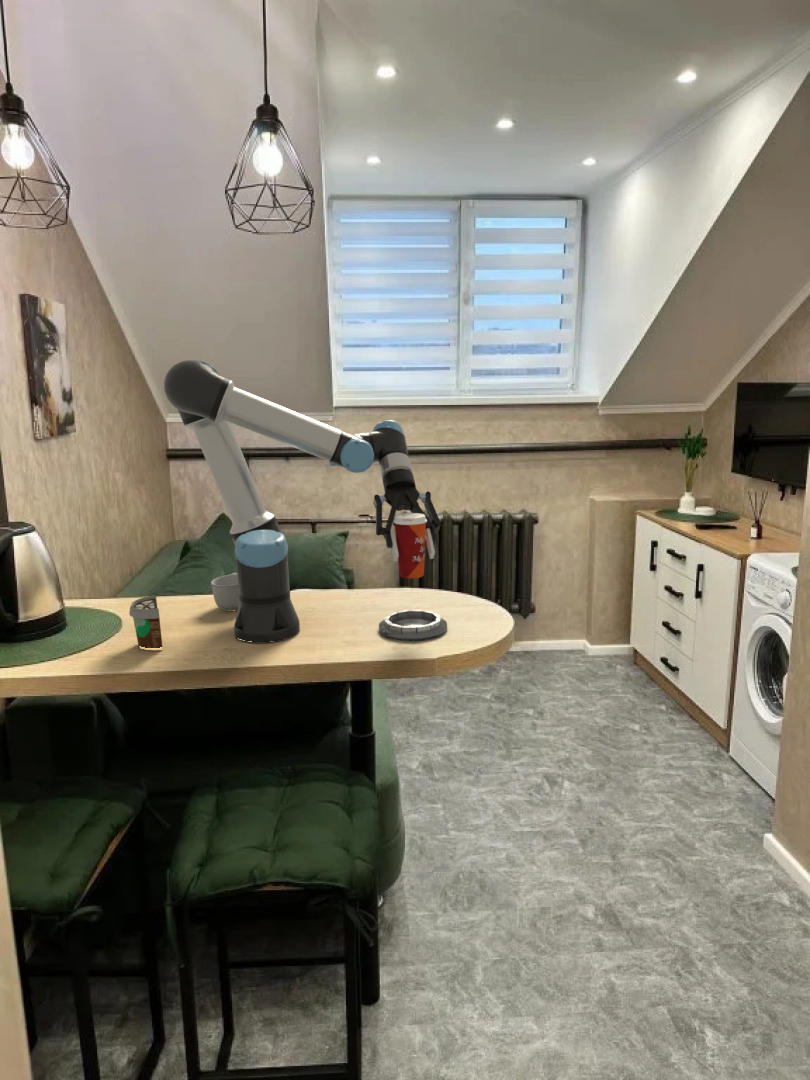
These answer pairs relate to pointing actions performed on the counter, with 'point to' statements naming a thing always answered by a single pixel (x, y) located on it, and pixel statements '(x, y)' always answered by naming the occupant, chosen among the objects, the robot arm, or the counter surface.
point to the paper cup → (410, 544)
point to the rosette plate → (412, 625)
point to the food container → (147, 622)
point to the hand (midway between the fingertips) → (414, 557)
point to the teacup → (226, 591)
